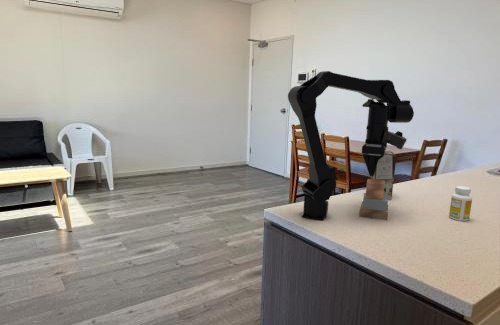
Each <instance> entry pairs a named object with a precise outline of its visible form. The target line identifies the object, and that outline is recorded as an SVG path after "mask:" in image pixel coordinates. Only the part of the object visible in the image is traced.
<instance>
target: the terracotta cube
mask: <svg viewBox="0 0 500 325" xmlns="http://www.w3.org/2000/svg"><path fill="white" fill-rule="evenodd" d="M384 184H385V180H375V179H372V178H367V181H366V186H365V187H366V189H365V193H366V198H368V199H376V200H383V194H384Z"/></svg>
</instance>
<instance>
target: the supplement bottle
mask: <svg viewBox="0 0 500 325" xmlns="http://www.w3.org/2000/svg"><path fill="white" fill-rule="evenodd" d="M454 191H455V192H454V193H452V195H451V198H450V206H449V215H448V216H449V218H450V219H453V220H456V221H458V222H459V221H460V222H461V221H462V222H467V221H469V220H470V216H471V211H472V204H473V202H472V201H473V197H472V195H471V192H472V189H471V187H469V186H464V185H463V186H462V185H458V186H455V189H454Z"/></svg>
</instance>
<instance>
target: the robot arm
mask: <svg viewBox="0 0 500 325" xmlns="http://www.w3.org/2000/svg"><path fill="white" fill-rule="evenodd" d="M329 87H331V88H336V89H340V90H346V91H350V92H354V93H358V94H361V95H362V96H364V97H366V98H368V99H367V101H366V102H364V103H363V104H362V105H361V106H362V108H368V115H367V124H366V127H365V128H366V136H365V141H364V142H365V143H364V144H363V145H362V146H361V153H362V154H361V155H362V158H363V159H364V160H363V161H364V162H365V166H366V169H367V172H368V174H369V175H368V176H369V177H372V176H374V173H375V170H376V167H377V164H378V161H379V159H381V158H382V157H384V154H385V151H387V148H388V144H389V145H391V146H393V147H396V148H397V149H398V150H403V148H404V146H405V144H406V142H407V141H408V140H407V138H406V137H405V136H403V134H404V133H403V132H402V131H399V130H397V131H396V132H393V131H392V132H391V131H389V127H388V122H389V123H390V124H391V123H393V124H394V123H395V124H396V123H397V124H398V123H401V124H408V123H410V122H412V120H413V118H414V115H415V113H414V112H415V111H414V108H413V106H412V104H411V100H406V99H404V100H401V99H400V96H399V94H398V93H397V91H396V88H395V84H394V82H393V80H389V79H365V78H359V77H355V76H349V75H344V74H341V73H340V74H339V73H335V72H332V71H330V70H326V71H325V70H323V71H319V72H318V73H317V74H316V75H314V76H313V77H312V78H310V79H308V80H306V81H304V82H303V83H301V85H295V86H293V87H292V88H290V90H289V92H288V94H287V100H288V102H289V105H290V107H291V109H292V111H293V112H294V114H295V116H296V117H297V118H298V120H299V125H300V128H301V133H302V137H303V141H304V145H305V148H306V149H305V150H306V153H307V155H308V161H309V170H308V180H306V182H305V183H304V184H302V186H301V190H302V193H304V194H305V195H304V197H303V198H304V199H303V213H302V214H301V217H302V218H305V219H312V220H319V221H324V220H325V218H326V217H327V216H328V211H329V200H330V198H331V196H332V193H333V191H335V188H336V187H337V181H338V180H339V178H338V177H337V174H336V168H335V166H333V165H331V164H329V163H327V161H326V157H325V153H324V149H323V145H322V141H321V137H320V132H319V128H318V124H317V120H316V111H317V105H318V104H317V98H318V97H319V96H321V95H322V94H323V93H324V92H325V90H326V89H327V88H329ZM375 100H376V101H375Z"/></svg>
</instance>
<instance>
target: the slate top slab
mask: <svg viewBox="0 0 500 325" xmlns="http://www.w3.org/2000/svg"><path fill="white" fill-rule="evenodd" d="M362 201H363V207H362V208H365V209H372V210H380V211H387V206H388V207H389V200H388V195H383V200H376V199H368V198H366V192H364V193H363V199H362Z"/></svg>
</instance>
